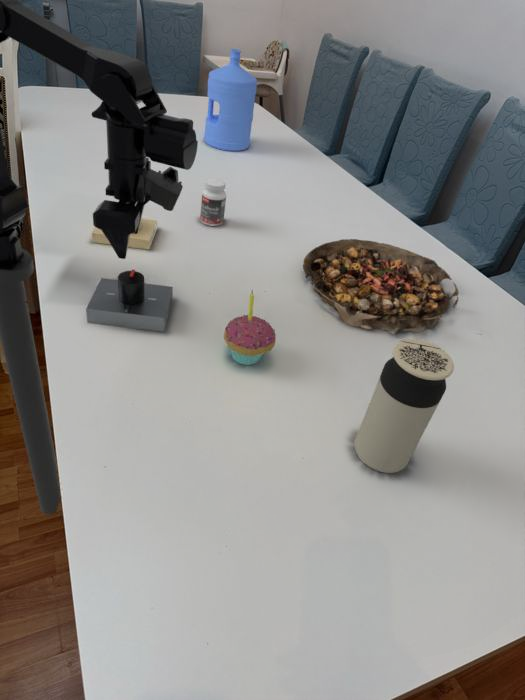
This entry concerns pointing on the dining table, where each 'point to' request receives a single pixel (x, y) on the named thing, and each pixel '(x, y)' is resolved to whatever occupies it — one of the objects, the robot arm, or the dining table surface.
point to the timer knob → (131, 287)
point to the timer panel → (130, 307)
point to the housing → (133, 235)
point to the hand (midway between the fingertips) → (128, 245)
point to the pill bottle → (213, 202)
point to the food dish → (379, 285)
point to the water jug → (230, 106)
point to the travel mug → (402, 404)
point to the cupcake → (249, 337)
